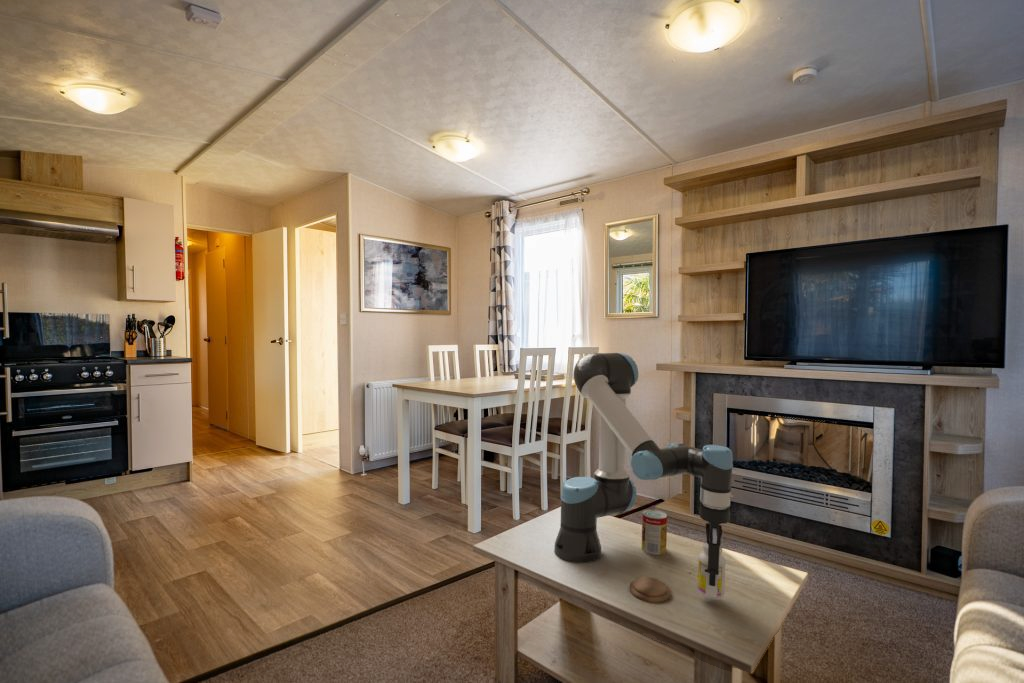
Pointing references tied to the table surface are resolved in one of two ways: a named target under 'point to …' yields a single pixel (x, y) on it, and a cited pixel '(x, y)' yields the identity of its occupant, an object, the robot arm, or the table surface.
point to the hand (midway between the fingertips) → (710, 589)
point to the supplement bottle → (702, 574)
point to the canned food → (654, 532)
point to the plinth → (650, 590)
